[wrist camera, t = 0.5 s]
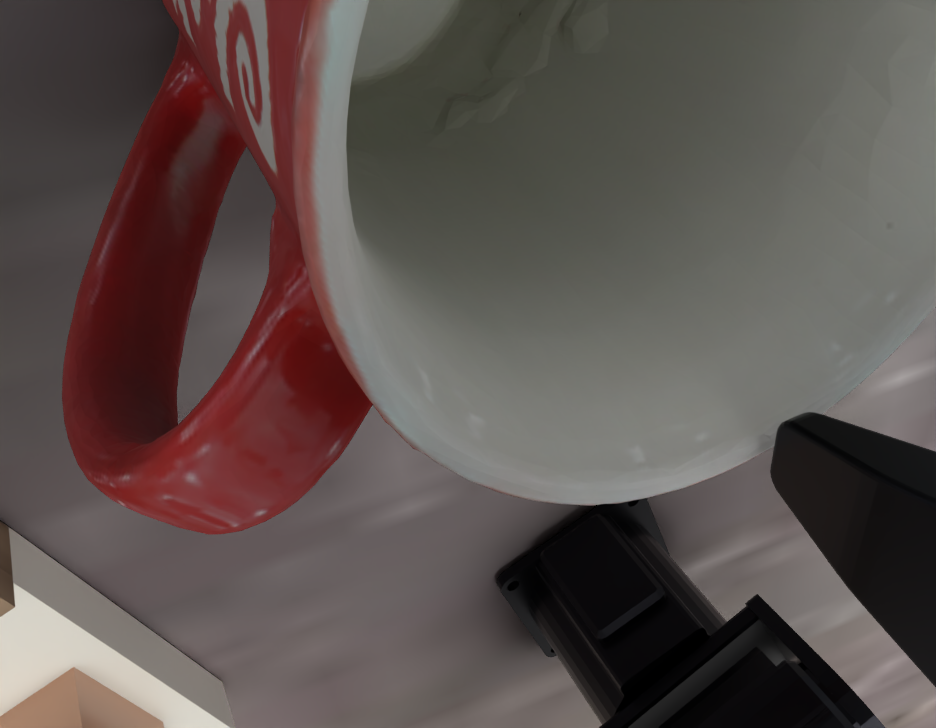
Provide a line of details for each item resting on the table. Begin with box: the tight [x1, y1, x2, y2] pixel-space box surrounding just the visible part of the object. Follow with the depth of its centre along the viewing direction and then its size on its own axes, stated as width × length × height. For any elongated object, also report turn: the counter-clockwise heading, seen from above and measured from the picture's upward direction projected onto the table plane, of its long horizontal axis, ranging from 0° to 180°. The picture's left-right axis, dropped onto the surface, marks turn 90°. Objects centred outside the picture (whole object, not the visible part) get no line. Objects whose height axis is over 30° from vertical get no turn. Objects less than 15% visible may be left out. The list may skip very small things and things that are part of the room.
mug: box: [62, 0, 936, 534], centre depth 13 cm, size 13×9×14 cm
